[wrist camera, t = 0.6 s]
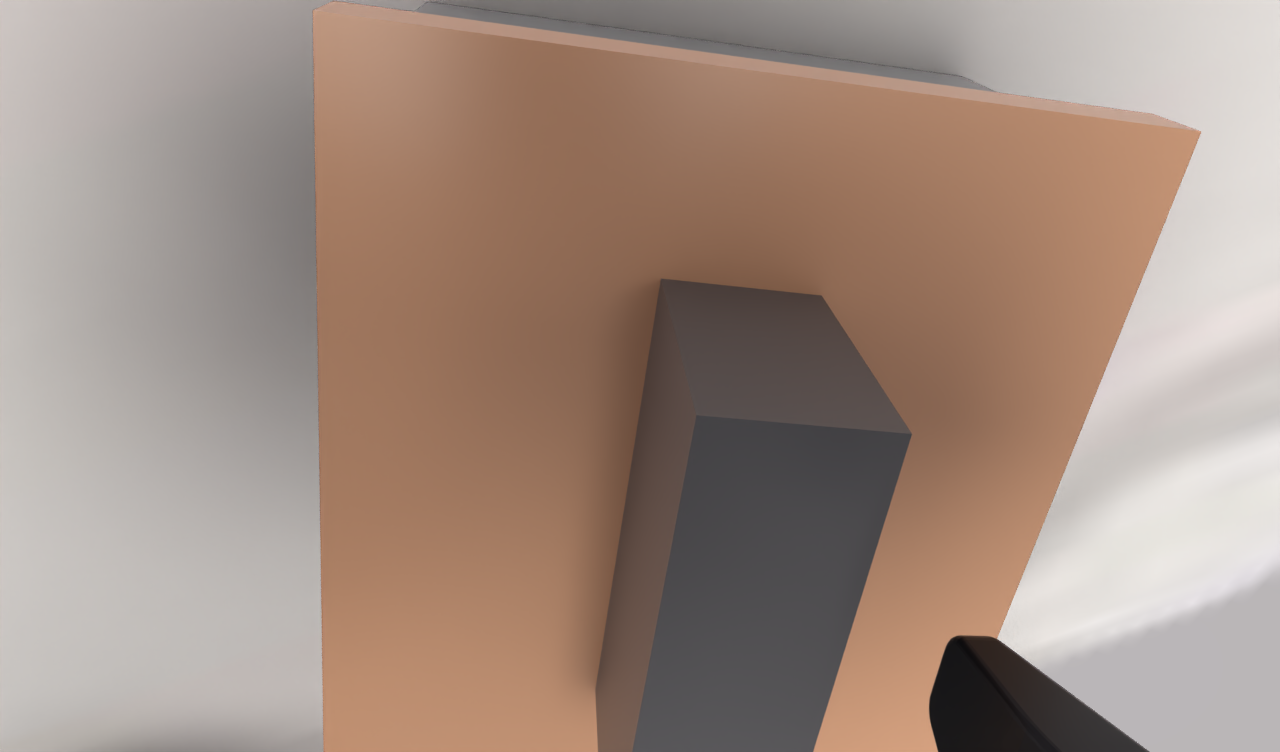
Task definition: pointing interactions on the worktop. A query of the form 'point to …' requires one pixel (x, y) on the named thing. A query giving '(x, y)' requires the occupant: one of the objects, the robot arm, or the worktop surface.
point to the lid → (690, 381)
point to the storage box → (696, 45)
